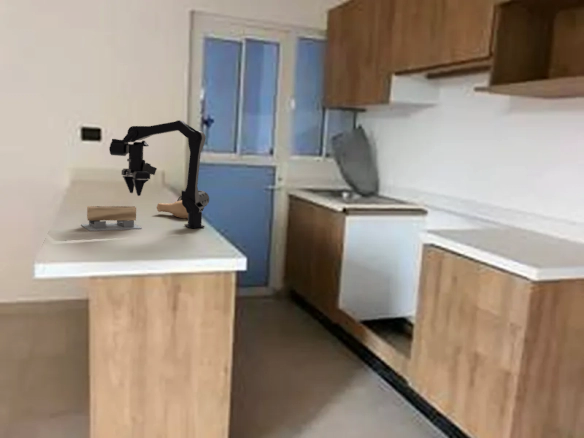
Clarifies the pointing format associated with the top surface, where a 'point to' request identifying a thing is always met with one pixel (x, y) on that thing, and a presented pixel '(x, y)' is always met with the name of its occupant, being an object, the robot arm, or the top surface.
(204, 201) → the muzzle brake
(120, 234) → the top surface
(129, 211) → the oak rail
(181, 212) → the squash
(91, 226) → the mount board
